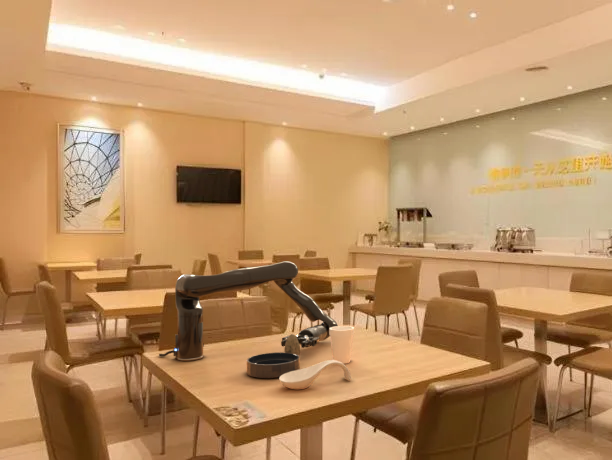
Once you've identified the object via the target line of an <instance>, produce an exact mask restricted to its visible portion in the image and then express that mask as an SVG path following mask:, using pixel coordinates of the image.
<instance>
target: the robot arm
mask: <svg viewBox="0 0 612 460" xmlns="http://www.w3.org/2000/svg"><path fill="white" fill-rule="evenodd" d="M298 274H299V267H298V266H297V265H296V264H295V263H294V262H292V261H281V262H277V263H273V264H268V265H260V266H251V267H242V268H235V269H229V270H227V271H224V272H222V273H218V274H208V275H206V274H205V275H201V274H200V275H198V274H191V273H185V274H182V275H181V276H180V277H178V279H177V280H176V282H175V286H174V287H175V289H174V291H175V292H174V293H175V308H176V311H177V334H175V341H174V342H175V343H174V344H175V347H173V349H172V350H168V351H167V352H165V353H158V356H159V357H166V356H168V355H171V354H173V357H175V358H174V359H175V360H177V361H181V362H189V361H198V360H201V359H204V347H205V346H204V345H205V344H204V308H203V306H202V305H201V301H200V298H203V297H206V296H209V295H212V294H213V295H214V294H217V293H229V292H230V293H232V292H239V291H245V290H250V289H255V288H257V287H260V286H262V285H264V284H267V283H269V282H274V284H276V286H277V287H278V288H279V289H280V290H282V291H283V293H284V294H285V295H287V296H288V297H289V298H290V299H291V300H292V301H293V302H294V303H295V304H296V305H297V306H298V308H299V309H300V310H301V311H302V313H303V314H304V315H305V316H306V318H307V319H308V320H309V322H311V323H315V322H317V321H321V323H319V324H315V325H313V326H309V327H306V328H304V329H302V330H300V331H299V332H298V334H297V335H295V336H296V337H297V339H298V342H299V345H300V348H302V349H303V348H310V347H315V346H317V345H319V344H320V342H324V341H325V340H328V338H330V335H329V328H331V327H335V326H339V324H338V323H337V322H336V320H335V319H334V318H332V317H331V316H329V314H327V313H326V312H324V310H322V308H321V307H320V306H319V304H318V303H317V302H316V300H315V299H313V298H312V297H311V296H310V295H308V294H306V293H305V292H303V291H302V290H301V289H299V288H298V286H296V284H295V282H294V280H295V279H296V277H297V276H298ZM290 335H291V334H290ZM290 335H287V336H284V337H281V341H280V346H281V347H284V348H285V343H286V340H287V338H288V337H289V336H290Z"/></svg>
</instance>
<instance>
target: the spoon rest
mask: <svg viewBox="0 0 612 460" xmlns="http://www.w3.org/2000/svg"><path fill="white" fill-rule="evenodd" d="M330 366H338V367H340V368H341V369H342V370H343V377H344V380H347V381H351V380H352V375H351V372H350V370H349V367H348V366H346V364H343V363H341V362H339V361H336V360H333V359H327V360H323V361H321V362H318V363H315V364H313V365H309V366H307V367H303V368H300V369H299V370H295V371H291V372H288V373H285V374H283V375H281V376H280V377H279V378H278V380H279V382H280V383H281V384H282V386H284V387H286V388H287V389H291V390H304V389H307V388H309V387H310V385H312V384H313V383H314V381H315V380H316V379H318V377H319V376H320V374H321V373H323V371H324V370H326V369H327V368H328V367H330Z"/></svg>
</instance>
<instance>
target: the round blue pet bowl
mask: <svg viewBox="0 0 612 460" xmlns="http://www.w3.org/2000/svg"><path fill="white" fill-rule="evenodd" d="M300 369H301V357H300V354H299V355H297V354H293V353H285V352H284V351H283V352H281V351H279V352H275V351H274V352H266V353H260V354H259V353H258V354H255V355H252V356H250V357H248V358H247V359H246V375H248V376H249V377H254V378H257V379H279V377H280V376H281V375H283V374H285V373H288V372H291V371H295V370H300Z"/></svg>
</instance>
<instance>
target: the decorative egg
mask: <svg viewBox="0 0 612 460" xmlns="http://www.w3.org/2000/svg"><path fill="white" fill-rule="evenodd" d="M288 336H289V335H288ZM296 336H297V335H295V334H290V336H289V337H288V338H287V340H286V343H285V346H284V351H283V352H284V353H293V354H297V355H299V356H300V353H301V345H299V342H298V339H297V337H296Z"/></svg>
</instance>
